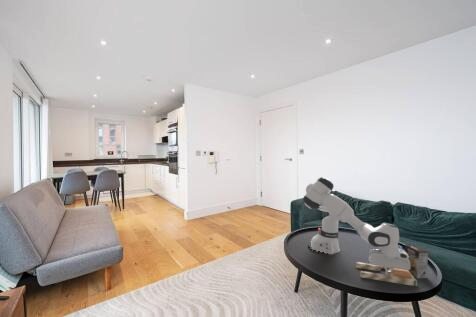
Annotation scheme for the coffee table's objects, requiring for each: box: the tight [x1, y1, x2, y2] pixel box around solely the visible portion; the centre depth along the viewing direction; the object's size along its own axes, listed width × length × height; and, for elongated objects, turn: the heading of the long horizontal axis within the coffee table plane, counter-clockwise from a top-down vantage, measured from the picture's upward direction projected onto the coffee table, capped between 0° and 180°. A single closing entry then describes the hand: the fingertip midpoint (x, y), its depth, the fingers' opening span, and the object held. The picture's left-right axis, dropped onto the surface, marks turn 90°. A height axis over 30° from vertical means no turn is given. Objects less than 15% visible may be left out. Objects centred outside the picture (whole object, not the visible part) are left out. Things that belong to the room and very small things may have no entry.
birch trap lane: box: [355, 261, 418, 287], centre depth 126 cm, size 27×16×3 cm, turn 72°
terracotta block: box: [390, 268, 411, 279], centre depth 122 cm, size 8×5×5 cm, turn 72°
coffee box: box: [404, 244, 429, 279], centre depth 126 cm, size 9×6×16 cm
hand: (388, 273), depth 124 cm, fingers closed
